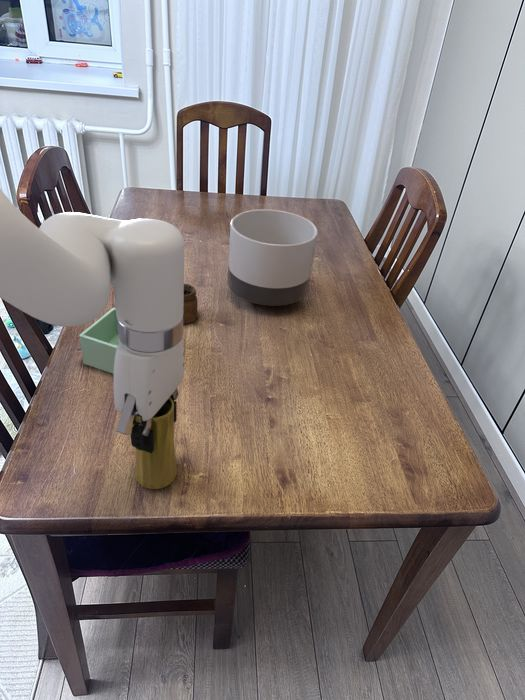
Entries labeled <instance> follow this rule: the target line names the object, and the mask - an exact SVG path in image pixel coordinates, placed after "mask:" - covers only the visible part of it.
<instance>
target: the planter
mask: <svg viewBox="0 0 525 700" xmlns="http://www.w3.org/2000/svg"><path fill="white" fill-rule="evenodd" d="M229 228H230V229H229V245H228V247H229V248H228V260H227V261H228V263H227V282H226V283H227V287H228V288H229V290H230V291H231V292H232V293H233V294H234V295H236V296H237V297H239V298H240V299H242V300H244V301H247V302H249V303H252V304H256V305H261V306H269V307H270V306H271V307H272V306H273V307H275V306H276V307H277V306H280V307H281V306H287V305H292V304H294V303H297V302H299V301H301V300H302V299H304V297H305V296H306V295H307V294H308V291H309V286H310V281H311V275H312V270H313V263H314V257H315V252H316V246H317V240H318V235H319V231H318V227H317V226H316V225H315V223H313V222H312V221H311V220H309V219H308V218H307V217H304V216H302V215H299V214H297V213H293V212H289V211H286V210H280V209H268V208H265V209H264V208H262V209H251V210H246V211H243V212H240V213H238V214H236V215H234V217H233V218H232V219H231V221H230V227H229Z"/></svg>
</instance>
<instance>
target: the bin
mask: <svg viewBox="0 0 525 700" xmlns="http://www.w3.org/2000/svg"><path fill="white" fill-rule="evenodd" d="M78 339H79V346H80V351H81V357H82V363H83V365H85V366H88V367H92V368H95V369H97V370H101V371H104V372H106V373H109V374H112V375H114V361H115V354H116V348H117V346H118V345H119V344H120V343H119V340H118V329H117V317H116V307H112V308H111V309H110V310H109V311H107V312H106V313H104V314H103V315H102V316H101V317H100V318H98V319H97V320H96V321H95V322H93V323H92V324H91V325H90V326H88V327H87V328H86V329H85V330H83V331H82V332H81V333H80V334H79V335H78Z"/></svg>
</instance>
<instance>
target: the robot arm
mask: <svg viewBox="0 0 525 700" xmlns="http://www.w3.org/2000/svg"><path fill="white" fill-rule="evenodd" d="M184 284H185V241H184V237H183V235H182V232H180V230H179V229H178V228H177V227H176V226H175V225H173V224H172V223H169V222H167V221H164V220H161V219H156V218H136V219H135V218H134V219H130V220H122V219H115V218H110V217H103V216H99V215H94V214H89V213H83V212H74V211H72V212H71V211H66V212H65V211H64V212H60V213H56V214H53V215H50V216H49V217H48V218H46V219H45V220H44V221H43V222H42V223H41V225H40V226H39V227H38V226H37V225H35V224H34V223H33V222H32V221H31V220H30V219H28V217H27V216H25V214H23V212H21V211H20V209H18V208H17V207H16V206H15V204H14V203H13V202H12V201H11V200H10V198H9V197H8V196H7V195H6V194H5V192H4V191H3V189H2V188H1V187H0V299H2V300H3V301H4V302H6V303H8V304H9V305H11V306H13V307H15V308H16V309H18V310H19V311H21V312H23V313H25V314H26V315H29V316H30V317H32V318H34V319H36V320H39V321H41V322H43V323H46V324H48V325H52V326H57V327H63V328H76V327H81V326H85V325H87V324H89V323H91V322H93V321H94V320H96V319H97V318H98V317H100V316H101V314H102V313H103V312H104V310H105V309H106V306H107V305H108V302H109V298H110V291H111V285H112V287H113V293H114V294H113V295H114V305H115V306H114V307H115V308H116V317H117V329H118V340H119V343H120V344H119V345H118V346H117V348H116V354H115V361H114V374H113V403H114V408H115V411H116V412H118V413H120V416H119V420H118V422H117V425H116V428H115V432H116V433H119V434H121V435H125V436H130V444H131V446H132V447H133V448H134V449H135V448H136V449H139V450H143V451H146V452H148V453H152V452H153V451H154V431H153V430H152V429H151V423H152V417H153V416H154V415H155V414H156V413H157V412H158V410H159V409H160V408H161V407H162V406H163V404H164V403H165V402H166V401H167V400H168V398H169V397H171V399H172V400H173V402H174V424H175V423H176V422H177V419H178V418H177V416H178V415H177V414H178V413H177V411H178V409H177V405H178V403H177V399H178V397H179V389H178V387H179V386H180V385H181V382H182V381H183V379H184V374H185V363H186V362H185V345H184V344H185V343H184V324H183V307H184ZM137 416H140V417H142V420H143V421H144V423H143V424H142V423H139V422H136V417H137Z"/></svg>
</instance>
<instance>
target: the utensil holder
mask: <svg viewBox="0 0 525 700" xmlns="http://www.w3.org/2000/svg"><path fill="white" fill-rule="evenodd" d="M192 277H194V278H192ZM191 278H192V284H189V283H190V281H191ZM197 278H198V277H197V276H196V275H194V274H191V275H190V274H188V275H187V276H186V278H185V280H188V279H189V280H188V283H187V281H184V307H183V325H184V324H185V325H187V324H190V323H194V322H195V321H196V319H197V317H198V297H197V291H196V287H197V285H194V282H195V283H198V282H197V280H198V279H197ZM194 279H195V281H194Z"/></svg>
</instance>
